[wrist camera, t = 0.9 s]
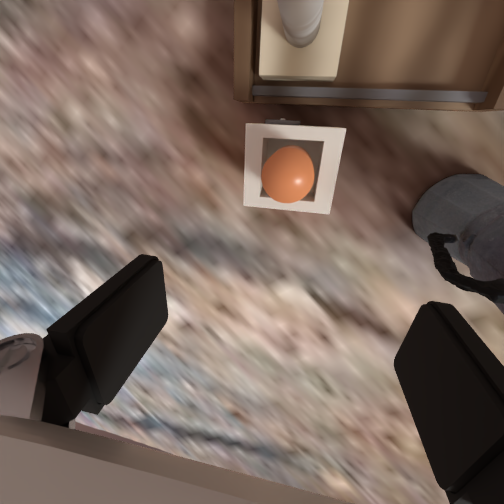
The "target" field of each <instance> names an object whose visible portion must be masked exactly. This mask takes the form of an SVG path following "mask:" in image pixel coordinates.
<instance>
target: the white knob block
mask: <svg viewBox="0 0 504 504" xmlns="http://www.w3.org/2000/svg"><path fill="white" fill-rule="evenodd" d="M300 122H301V121H292V120H285V119H284V118H281V119H280V120H271V119H266V120H265V123H246V133H245V169H244V206H252V207H262V208H271V209H281V210H291V211H301V212H311V213H321V214H330V209H331V203H332V198H333V193H334V188H335V183H336V178H337V173H338V168H339V163H340V158H341V153H342V148H343V143H344V138H345V133H346V128H339V127H326V126H305V125H300ZM288 145H296V146H299V147H301V148H303V149H305V150H306V151H307V152H308V153H309V155H310V157H311V159H312V162H313V168H314V182H313V186H312V188H311V190H310V191H309V193H308V194H307V195H306V196H305V197H304V198H302V199H301V200H299V201H297V202H294V203H281V202H278V201H275V200H274V199H272V198H271V197H270V196H269V195H268V194H267V193H266V191H265V190H264V188H263V185H262V180H261V175H262V169H263V167H264V164H265V163H266V161H267V160H268V159H269V157H270V156H271V155H273V154H274V153H275V152H276V151H277V150H278V149H280V148H282V147H284V146H288Z"/></svg>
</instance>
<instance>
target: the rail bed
mask: <svg viewBox="0 0 504 504" xmlns="http://www.w3.org/2000/svg"><path fill="white" fill-rule="evenodd" d="M261 19H262V0H234V100H237V101H239V102H242V103H261V104H287V105H314V106H341V107H367V108H394V109H421V110H447V111H474V112H485V111H499V110H504V0H349V4H348V10H347V16H346V22H345V28H344V34H343V40H342V46H341V52H340V58H339V64H338V70H337V76H336V78H335V80H334V81H333V82H329V81H285V80H263V79H262V78H261V77H260V76H259V63H260V41H261Z"/></svg>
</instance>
